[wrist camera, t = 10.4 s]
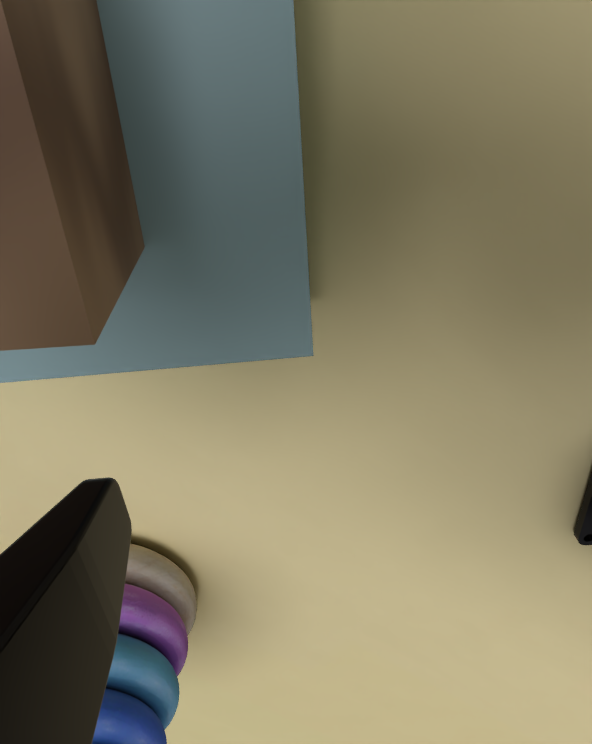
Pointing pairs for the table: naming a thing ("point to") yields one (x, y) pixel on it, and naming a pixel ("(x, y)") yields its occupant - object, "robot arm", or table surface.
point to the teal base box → (202, 191)
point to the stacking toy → (147, 651)
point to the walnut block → (60, 178)
